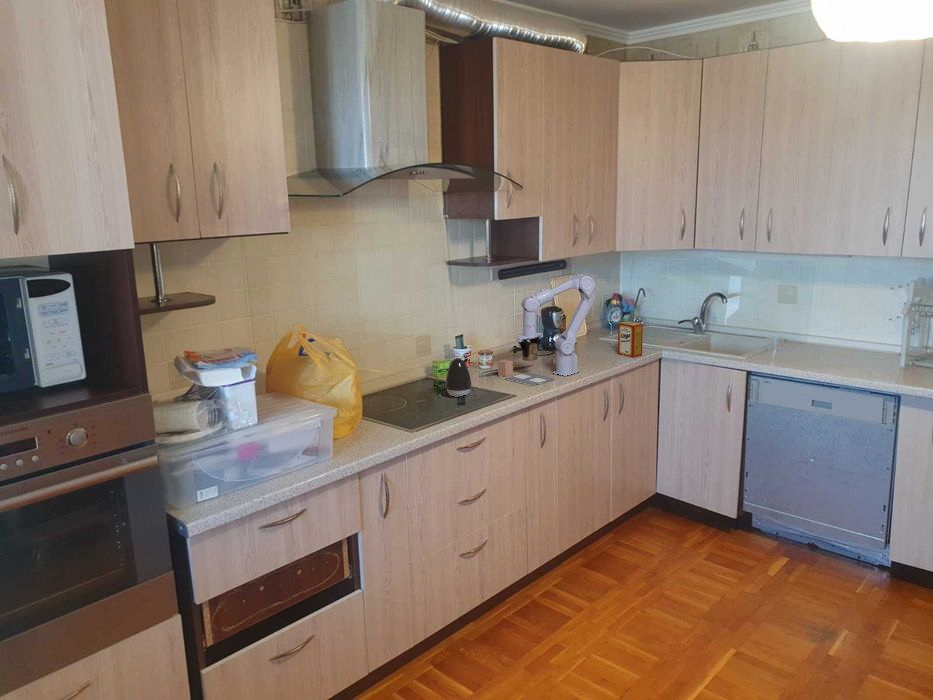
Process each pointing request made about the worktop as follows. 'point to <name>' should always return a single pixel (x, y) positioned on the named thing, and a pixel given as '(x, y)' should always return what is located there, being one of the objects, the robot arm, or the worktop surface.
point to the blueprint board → (530, 378)
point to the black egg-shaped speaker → (458, 378)
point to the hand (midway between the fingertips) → (530, 355)
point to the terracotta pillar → (505, 368)
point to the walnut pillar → (531, 353)
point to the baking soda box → (630, 339)
